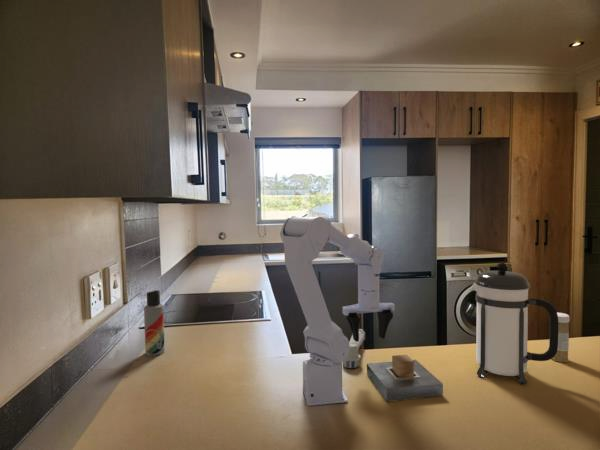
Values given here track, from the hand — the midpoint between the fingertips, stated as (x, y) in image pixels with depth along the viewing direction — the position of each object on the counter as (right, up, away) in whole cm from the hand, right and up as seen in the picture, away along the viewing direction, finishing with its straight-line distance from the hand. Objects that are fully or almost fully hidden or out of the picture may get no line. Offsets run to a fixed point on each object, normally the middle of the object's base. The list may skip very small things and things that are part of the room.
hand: (369, 338), depth 99 cm
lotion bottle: (-65, -10, +17) cm, 68 cm away
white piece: (-2, -9, +15) cm, 17 cm away
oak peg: (+7, -10, -7) cm, 14 cm away
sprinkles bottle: (+57, -8, +7) cm, 58 cm away
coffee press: (+37, -9, -1) cm, 38 cm away
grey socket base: (+7, -10, -7) cm, 14 cm away
